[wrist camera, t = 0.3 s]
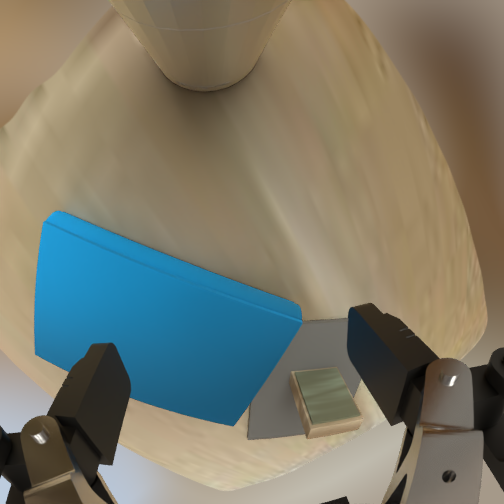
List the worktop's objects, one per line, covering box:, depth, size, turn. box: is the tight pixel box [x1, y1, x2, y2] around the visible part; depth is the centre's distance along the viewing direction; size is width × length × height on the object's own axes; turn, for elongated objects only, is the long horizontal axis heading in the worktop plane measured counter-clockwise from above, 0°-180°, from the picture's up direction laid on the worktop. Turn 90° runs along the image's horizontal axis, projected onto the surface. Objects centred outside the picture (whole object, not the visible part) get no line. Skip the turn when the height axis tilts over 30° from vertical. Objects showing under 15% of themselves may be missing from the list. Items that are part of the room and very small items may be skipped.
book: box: [34, 211, 303, 426], centre depth 27 cm, size 17×4×25 cm
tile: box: [289, 367, 364, 439], centre depth 29 cm, size 2×6×9 cm, turn 87°
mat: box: [247, 318, 361, 440], centre depth 35 cm, size 22×15×1 cm
